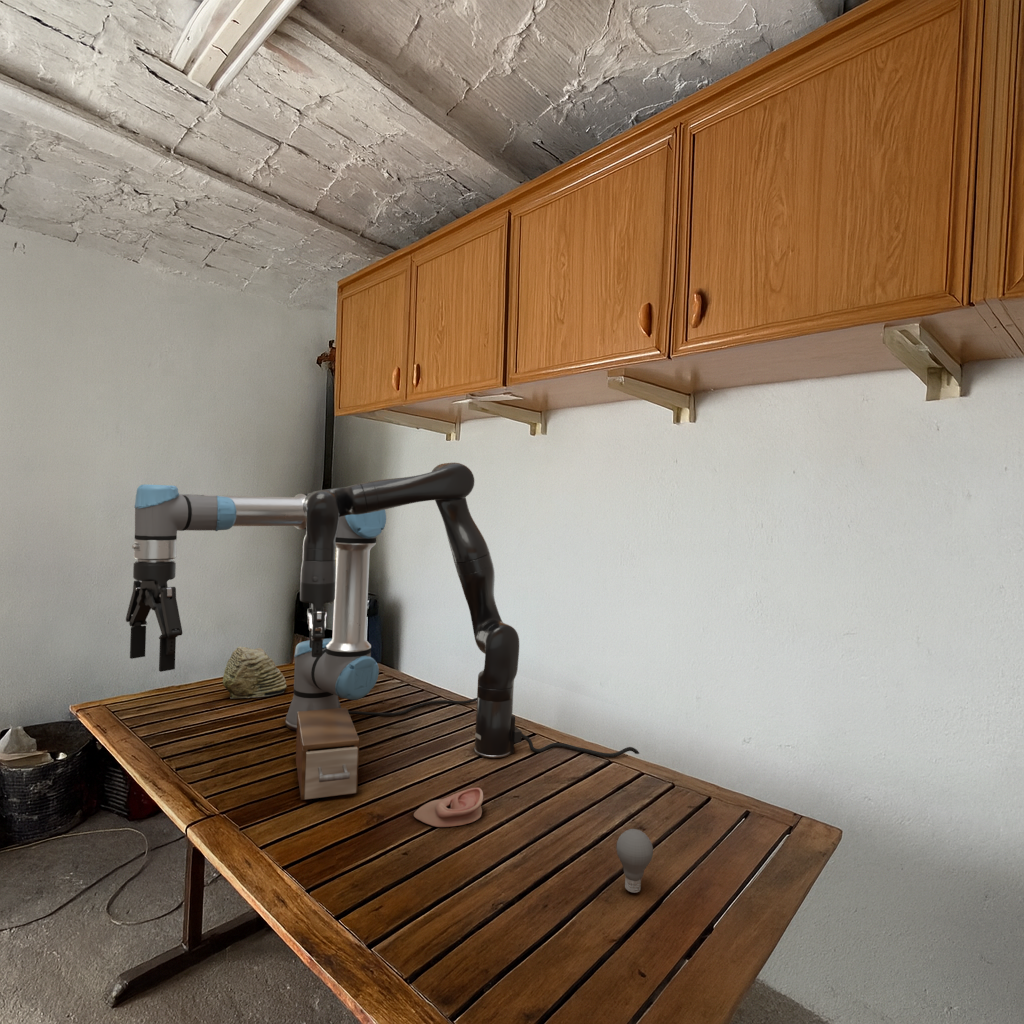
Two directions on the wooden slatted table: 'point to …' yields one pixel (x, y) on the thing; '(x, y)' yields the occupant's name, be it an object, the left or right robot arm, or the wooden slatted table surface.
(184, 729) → the wooden slatted table surface
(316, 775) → the drawer
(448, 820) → the anatomical model
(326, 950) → the wooden slatted table surface
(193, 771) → the wooden slatted table surface
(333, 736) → the cabinet
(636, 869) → the light bulb
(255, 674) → the fossil
